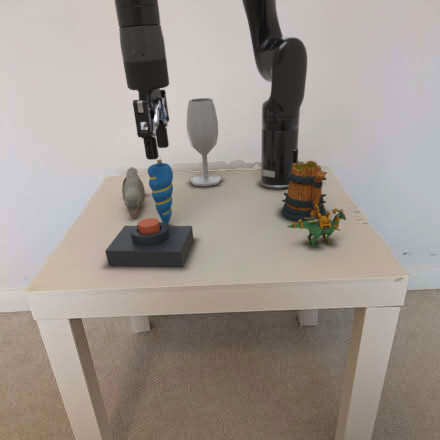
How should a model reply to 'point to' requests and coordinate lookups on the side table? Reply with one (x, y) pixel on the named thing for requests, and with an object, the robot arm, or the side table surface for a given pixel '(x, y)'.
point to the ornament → (162, 189)
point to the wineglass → (203, 135)
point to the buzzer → (151, 247)
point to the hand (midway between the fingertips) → (158, 152)
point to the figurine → (320, 225)
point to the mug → (304, 192)
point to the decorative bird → (133, 191)
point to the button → (148, 226)
